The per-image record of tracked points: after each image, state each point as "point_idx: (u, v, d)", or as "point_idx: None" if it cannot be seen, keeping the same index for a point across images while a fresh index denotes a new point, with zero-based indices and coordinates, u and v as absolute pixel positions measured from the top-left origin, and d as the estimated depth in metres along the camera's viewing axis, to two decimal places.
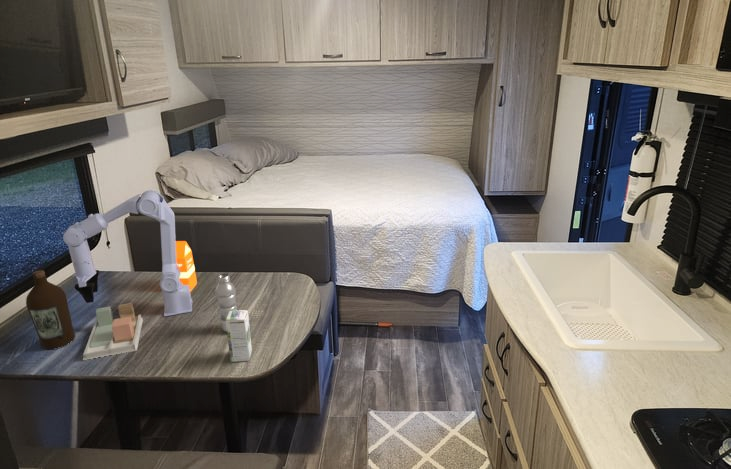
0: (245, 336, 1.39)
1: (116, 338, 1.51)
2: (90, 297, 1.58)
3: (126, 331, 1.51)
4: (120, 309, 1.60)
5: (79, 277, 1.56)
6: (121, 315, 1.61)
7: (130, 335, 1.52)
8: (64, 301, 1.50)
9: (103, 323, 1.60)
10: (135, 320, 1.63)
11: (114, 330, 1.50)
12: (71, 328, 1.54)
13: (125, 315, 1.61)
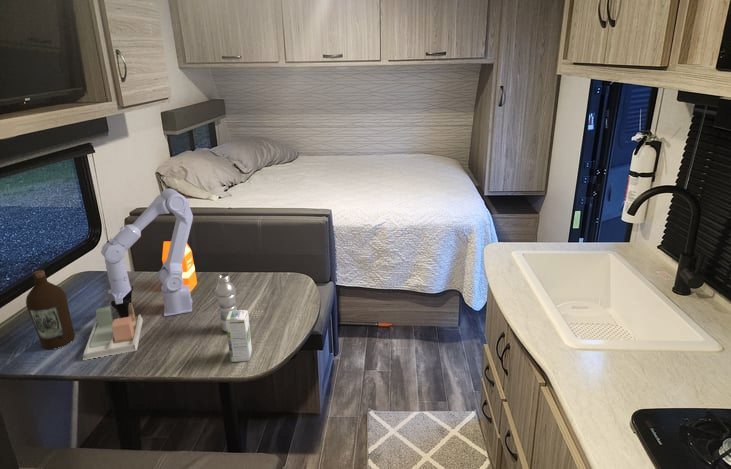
0: (245, 336, 1.39)
1: (116, 338, 1.51)
2: (125, 313, 1.58)
3: (126, 331, 1.51)
4: None
5: (115, 294, 1.56)
6: None
7: (130, 335, 1.52)
8: (64, 301, 1.50)
9: (103, 323, 1.60)
10: (135, 320, 1.63)
11: (114, 330, 1.50)
12: (71, 328, 1.54)
13: None
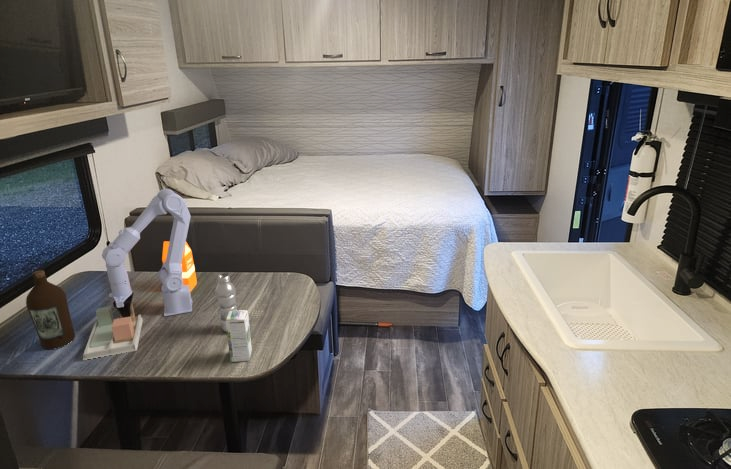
0: (245, 336, 1.39)
1: (116, 338, 1.51)
2: (127, 314, 1.60)
3: (126, 331, 1.51)
4: None
5: (116, 297, 1.57)
6: None
7: (130, 335, 1.52)
8: (64, 301, 1.50)
9: (103, 323, 1.60)
10: (135, 320, 1.63)
11: (114, 330, 1.50)
12: (71, 328, 1.54)
13: None
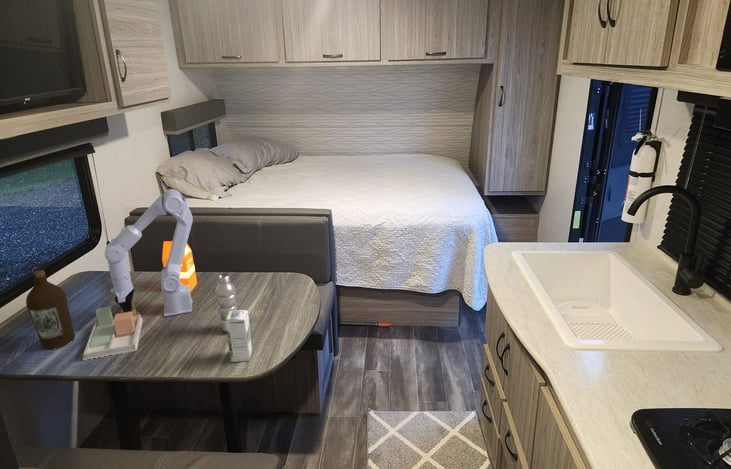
0: (245, 336, 1.39)
1: (118, 332, 1.54)
2: (128, 309, 1.64)
3: (127, 325, 1.55)
4: None
5: (118, 292, 1.60)
6: (122, 310, 1.64)
7: (131, 329, 1.55)
8: (64, 301, 1.50)
9: (103, 323, 1.60)
10: (136, 315, 1.66)
11: (116, 324, 1.53)
12: (71, 328, 1.54)
13: None
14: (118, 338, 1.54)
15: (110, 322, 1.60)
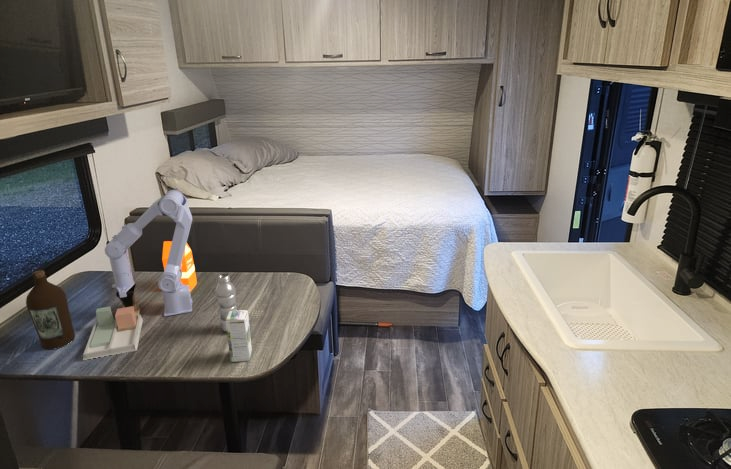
0: (245, 336, 1.39)
1: (120, 326, 1.58)
2: (130, 304, 1.67)
3: (129, 320, 1.58)
4: None
5: (119, 288, 1.63)
6: None
7: (133, 324, 1.59)
8: (64, 301, 1.50)
9: (103, 323, 1.60)
10: (137, 310, 1.69)
11: (117, 319, 1.56)
12: (71, 328, 1.54)
13: None
14: (118, 338, 1.54)
15: (110, 322, 1.60)
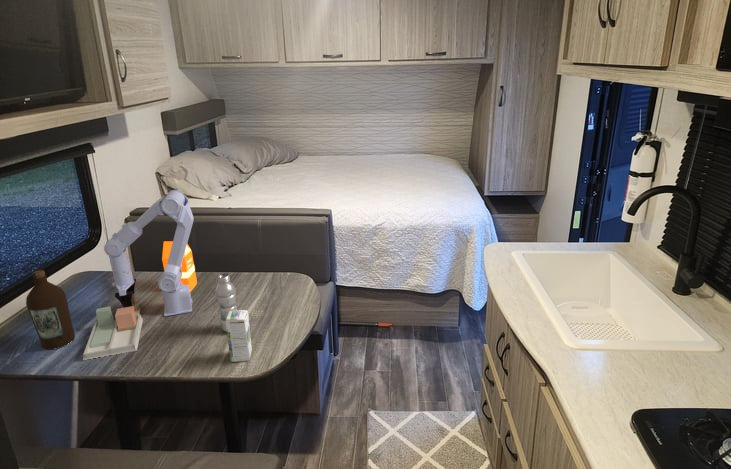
0: (245, 336, 1.39)
1: (120, 326, 1.58)
2: (129, 305, 1.65)
3: (129, 320, 1.58)
4: None
5: (119, 286, 1.63)
6: None
7: (133, 324, 1.59)
8: (64, 300, 1.50)
9: (103, 323, 1.60)
10: (137, 310, 1.69)
11: (117, 319, 1.56)
12: (71, 328, 1.54)
13: None
14: (118, 338, 1.54)
15: (110, 322, 1.60)
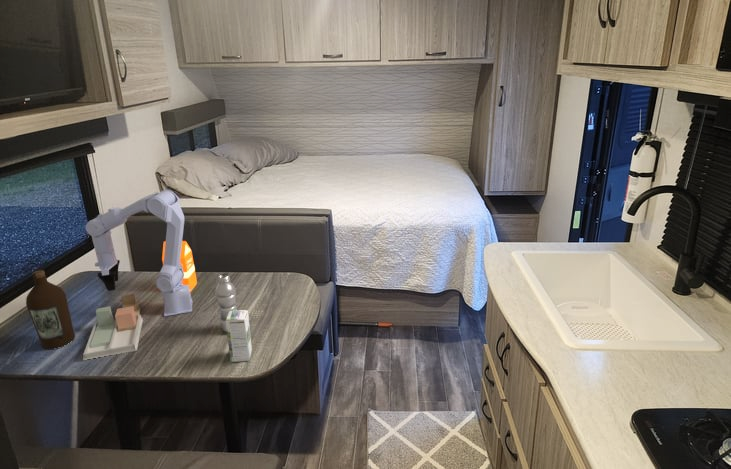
0: (245, 336, 1.39)
1: (120, 326, 1.58)
2: (112, 285, 1.66)
3: (129, 320, 1.58)
4: (123, 299, 1.66)
5: (102, 266, 1.64)
6: (124, 305, 1.67)
7: (133, 324, 1.59)
8: (64, 301, 1.50)
9: (103, 323, 1.60)
10: (137, 310, 1.69)
11: (117, 319, 1.56)
12: (71, 328, 1.54)
13: (128, 305, 1.67)
14: (118, 338, 1.54)
15: (110, 322, 1.60)
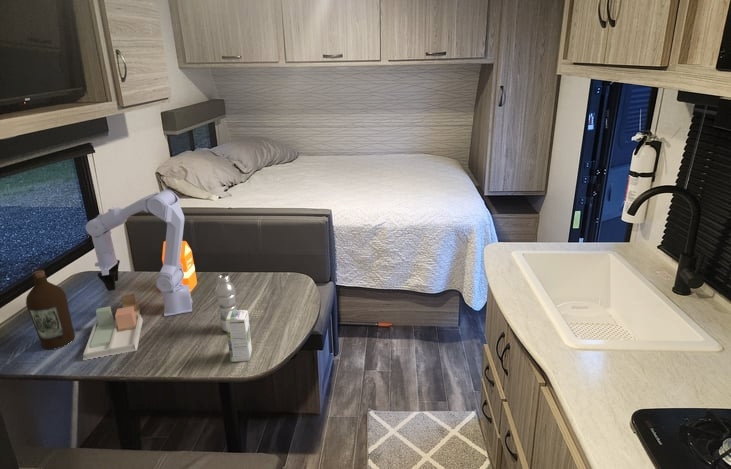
0: (245, 336, 1.39)
1: (120, 326, 1.58)
2: (112, 285, 1.66)
3: (129, 320, 1.58)
4: (123, 299, 1.66)
5: (102, 266, 1.64)
6: (124, 305, 1.67)
7: (133, 324, 1.59)
8: (64, 301, 1.50)
9: (103, 323, 1.60)
10: (137, 310, 1.69)
11: (117, 319, 1.56)
12: (71, 328, 1.54)
13: (128, 305, 1.67)
14: (118, 338, 1.54)
15: (110, 322, 1.60)
